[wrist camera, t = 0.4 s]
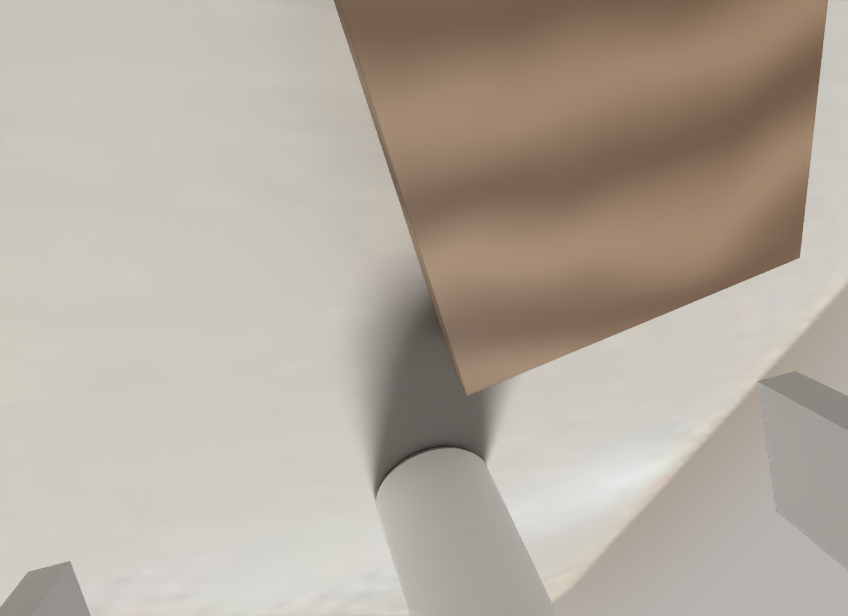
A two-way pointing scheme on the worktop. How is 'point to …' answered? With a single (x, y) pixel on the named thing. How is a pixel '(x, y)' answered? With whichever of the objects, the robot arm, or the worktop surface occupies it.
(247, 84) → the worktop surface
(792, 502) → the robot arm
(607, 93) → the platform
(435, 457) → the can
